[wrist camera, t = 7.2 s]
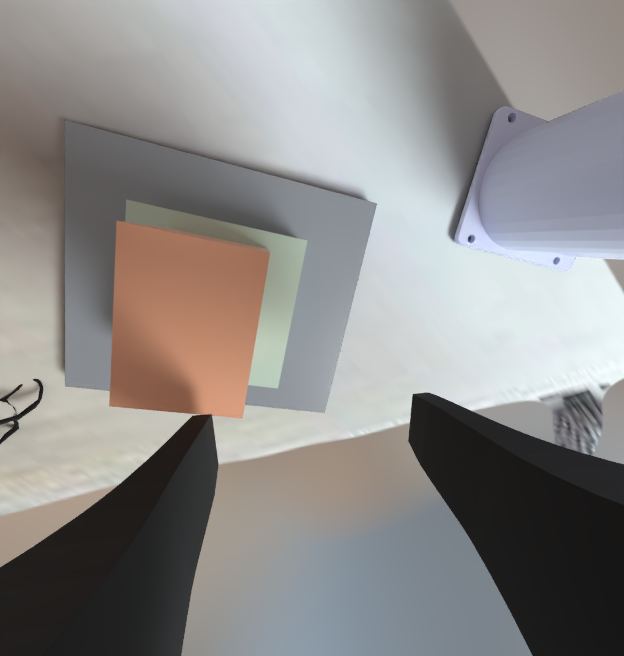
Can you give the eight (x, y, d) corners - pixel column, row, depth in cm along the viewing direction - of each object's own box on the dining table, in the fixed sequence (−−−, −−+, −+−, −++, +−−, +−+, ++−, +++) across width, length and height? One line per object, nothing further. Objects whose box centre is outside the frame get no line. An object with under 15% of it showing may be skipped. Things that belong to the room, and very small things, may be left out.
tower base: (371, 205, 18) (399, 195, 14) (321, 405, 21) (334, 440, 18) (77, 127, 15) (12, 87, 11) (75, 378, 18) (25, 414, 14)
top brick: (268, 249, 14) (270, 253, 9) (248, 363, 15) (242, 418, 11) (169, 228, 13) (116, 220, 8) (159, 352, 15) (109, 406, 10)
